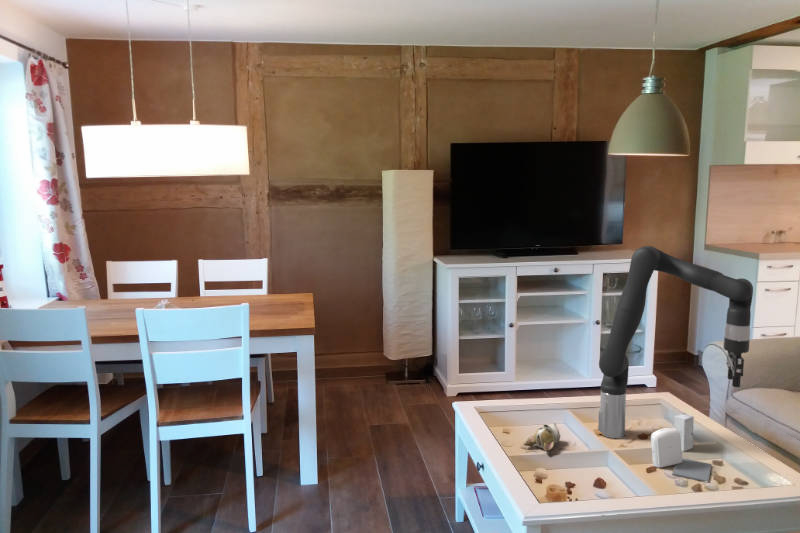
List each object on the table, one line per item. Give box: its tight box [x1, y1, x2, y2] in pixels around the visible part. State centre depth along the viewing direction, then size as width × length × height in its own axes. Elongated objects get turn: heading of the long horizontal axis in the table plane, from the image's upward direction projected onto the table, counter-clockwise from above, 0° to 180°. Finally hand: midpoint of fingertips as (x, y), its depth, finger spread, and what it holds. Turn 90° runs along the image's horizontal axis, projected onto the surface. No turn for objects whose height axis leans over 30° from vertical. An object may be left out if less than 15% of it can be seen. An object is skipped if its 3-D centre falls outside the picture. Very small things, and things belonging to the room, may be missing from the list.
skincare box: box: [673, 412, 695, 452], centre depth 213 cm, size 6×4×12 cm
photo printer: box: [650, 427, 683, 469], centre depth 199 cm, size 10×4×12 cm, turn 105°
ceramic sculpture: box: [523, 422, 561, 453], centre depth 216 cm, size 11×9×15 cm
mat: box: [671, 457, 712, 482], centre depth 196 cm, size 10×14×1 cm
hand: (733, 382), depth 200 cm, fingers open, 8 cm apart
